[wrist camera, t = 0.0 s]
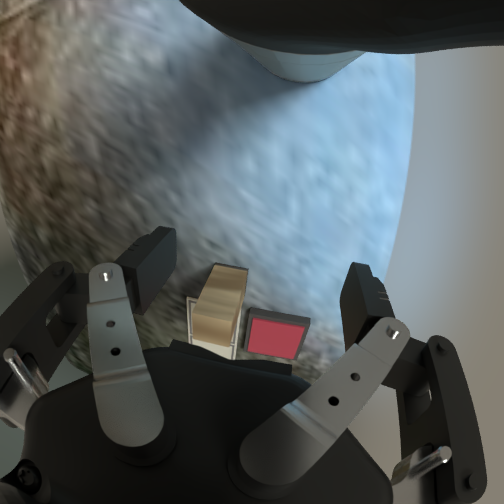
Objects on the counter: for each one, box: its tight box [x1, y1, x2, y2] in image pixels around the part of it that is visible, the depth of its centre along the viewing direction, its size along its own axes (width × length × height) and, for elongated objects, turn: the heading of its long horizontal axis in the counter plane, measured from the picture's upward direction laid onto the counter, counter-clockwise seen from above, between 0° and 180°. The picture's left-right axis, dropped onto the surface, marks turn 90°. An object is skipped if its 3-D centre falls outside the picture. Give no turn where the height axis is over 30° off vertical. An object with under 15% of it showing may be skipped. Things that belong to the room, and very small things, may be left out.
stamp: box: [192, 263, 248, 347], centre depth 31 cm, size 4×4×9 cm
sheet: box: [187, 296, 242, 360], centre depth 42 cm, size 15×8×1 cm, turn 173°
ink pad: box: [244, 307, 310, 361], centre depth 38 cm, size 8×8×2 cm
